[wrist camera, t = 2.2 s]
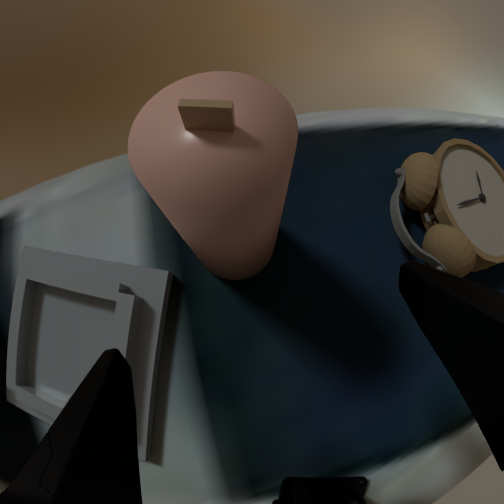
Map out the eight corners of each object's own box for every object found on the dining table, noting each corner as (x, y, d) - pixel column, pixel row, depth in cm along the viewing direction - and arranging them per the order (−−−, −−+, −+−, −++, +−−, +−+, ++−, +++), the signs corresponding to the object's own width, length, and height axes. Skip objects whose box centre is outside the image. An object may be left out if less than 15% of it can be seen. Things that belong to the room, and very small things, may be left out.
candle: (279, 209, 22) (305, 54, 9) (269, 285, 21) (295, 200, 7) (203, 200, 23) (148, 50, 9) (189, 274, 21) (89, 181, 7)
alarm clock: (535, 242, 19) (453, 295, 15) (501, 257, 23) (407, 307, 20) (487, 136, 21) (385, 134, 18) (459, 160, 26) (354, 170, 23)
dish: (173, 274, 21) (162, 266, 19) (150, 455, 18) (138, 469, 15) (32, 249, 22) (13, 240, 19) (14, 398, 18) (-4, 402, 16)
